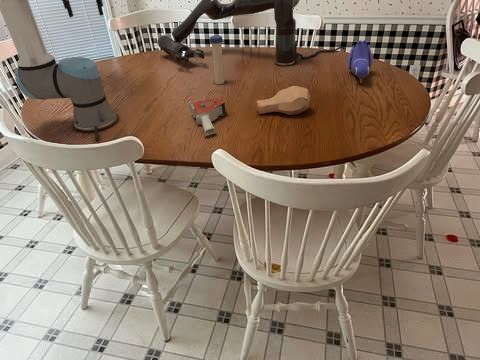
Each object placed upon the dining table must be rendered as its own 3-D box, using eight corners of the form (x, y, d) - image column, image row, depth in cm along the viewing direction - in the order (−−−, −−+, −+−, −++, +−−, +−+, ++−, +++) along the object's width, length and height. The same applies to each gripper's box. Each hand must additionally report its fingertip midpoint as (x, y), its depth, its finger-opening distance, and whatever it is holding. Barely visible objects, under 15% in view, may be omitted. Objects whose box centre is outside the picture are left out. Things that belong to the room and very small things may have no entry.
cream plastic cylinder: (219, 84, 158) (215, 40, 146) (213, 82, 160) (209, 38, 149) (226, 82, 160) (223, 37, 148) (220, 80, 162) (216, 36, 151)
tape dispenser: (210, 142, 120) (241, 115, 132) (208, 128, 116) (241, 102, 129) (170, 128, 127) (203, 104, 139) (167, 115, 124) (202, 91, 136)
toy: (346, 77, 167) (349, 86, 145) (348, 39, 161) (352, 42, 138) (368, 76, 165) (375, 85, 143) (371, 38, 158) (379, 41, 136)
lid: (215, 44, 147) (214, 39, 145) (207, 42, 150) (207, 37, 149) (225, 41, 149) (224, 36, 148) (217, 39, 153) (216, 34, 151)
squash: (314, 116, 128) (313, 95, 122) (259, 125, 130) (256, 105, 124) (308, 99, 136) (307, 78, 129) (257, 108, 138) (253, 88, 131)
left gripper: (103, -44, 147) (116, 12, 159) (44, -40, 148) (62, 15, 160) (97, -42, 141) (111, 16, 153) (36, -38, 142) (55, 19, 154)
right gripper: (193, 55, 187) (209, 63, 176) (169, 61, 180) (183, 69, 169) (191, 40, 182) (207, 47, 171) (166, 46, 176) (181, 53, 165)
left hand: (86, 15), depth 157 cm, fingers open, 13 cm apart
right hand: (195, 58), depth 170 cm, fingers open, 8 cm apart
